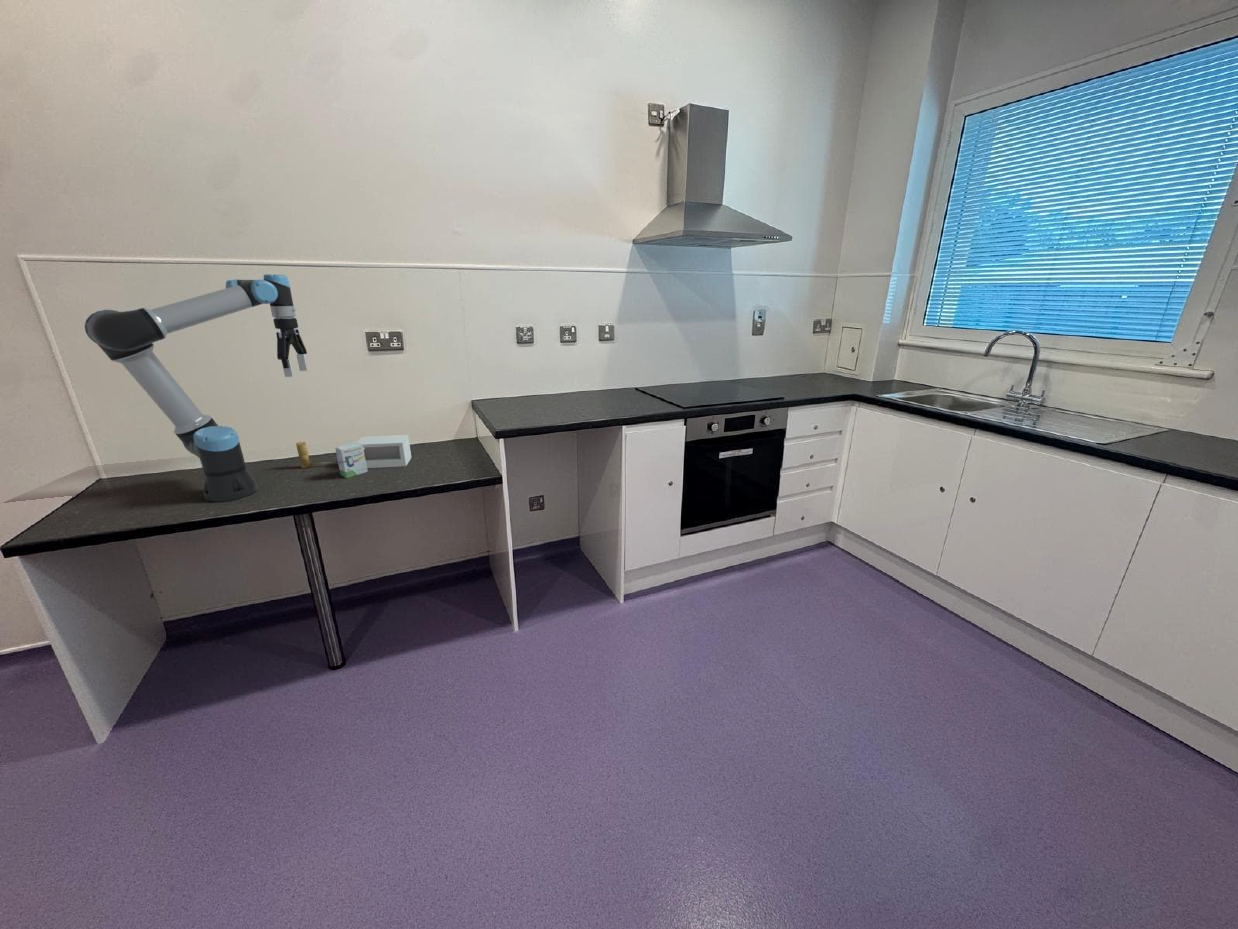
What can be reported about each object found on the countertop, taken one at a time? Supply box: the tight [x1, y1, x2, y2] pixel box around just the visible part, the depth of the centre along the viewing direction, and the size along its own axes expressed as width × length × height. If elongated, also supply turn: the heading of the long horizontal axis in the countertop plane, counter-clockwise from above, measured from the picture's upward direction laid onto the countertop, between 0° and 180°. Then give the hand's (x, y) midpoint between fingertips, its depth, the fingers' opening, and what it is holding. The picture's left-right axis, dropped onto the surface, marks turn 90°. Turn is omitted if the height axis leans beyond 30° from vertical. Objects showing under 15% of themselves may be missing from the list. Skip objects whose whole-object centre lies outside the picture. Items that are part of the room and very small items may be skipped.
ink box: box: [335, 441, 368, 479], centre depth 192 cm, size 9×5×12 cm, turn 143°
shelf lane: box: [356, 434, 412, 469], centre depth 204 cm, size 18×11×10 cm, turn 101°
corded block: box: [295, 441, 338, 469], centre depth 200 cm, size 22×6×10 cm, turn 101°
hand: (296, 373), depth 195 cm, fingers open, 13 cm apart
